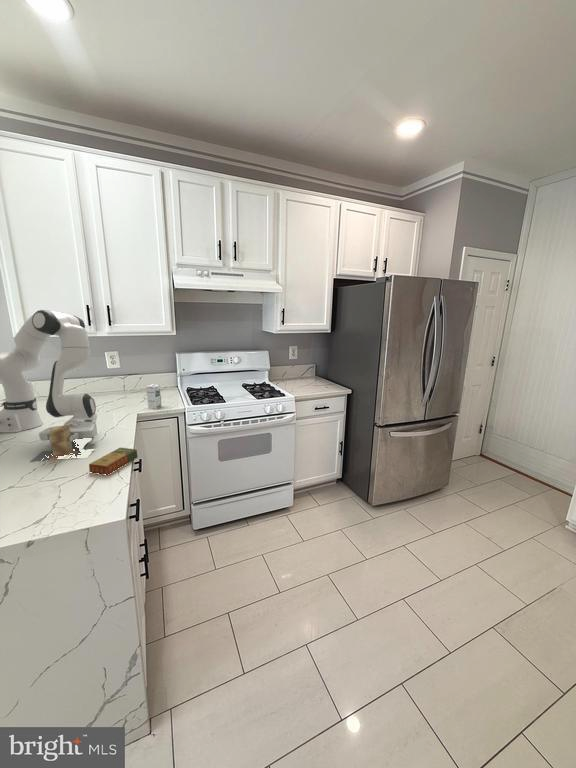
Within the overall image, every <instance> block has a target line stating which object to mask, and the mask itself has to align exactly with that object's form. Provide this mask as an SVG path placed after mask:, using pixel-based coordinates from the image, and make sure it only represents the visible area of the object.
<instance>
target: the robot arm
mask: <svg viewBox="0 0 576 768" xmlns="http://www.w3.org/2000/svg"><path fill="white" fill-rule="evenodd" d="M51 336H56V337H57V336H58V337H59V339H60V345H61V353H60V357H59V358H58V359H57V360H55V362H54V363H53V365H52V370H51V376H50V384H49V390H48V391H49V392H48V397H47V400H46V403H45V410H46V413H48V414H49V415H50V416H52V417H54V418H62V417H66V416H67V417H69V416H72V417H71V418H69V419H68V420H67V421H65V422H64V423H63V425H62V426H69V427H70V434H71V436H68V437H67V441H72V440H75V439H83V438H95V436H96V435H97V434H98V433H97V431H98V428H97V419H98V416H97V413H96V410H97V407H96V401H95V399H94V398H93V397H92V396H91V395H89V394H88V393H76V394H75V393H74V394H63V391H64V384H65V378H66V376H67V375H68V374H69V373H71V372H73V371H75V370H79V369H81V368H82V367H84V366H86V364H88V363H89V361H90V359H91V348H90V347H91V346H90V340H89V335H88V332H87V330H86V324H85V322H84V320H83V319H81V318H80V317H78V316H76V315H72V314H70V313H69V314H68V313H65V312H60V311H55V310H54V311H52V310H48V309H39V310H37V311H36V312H35V313H33V314H32V315H31V316H30V317H28V318H27V319H26V321H25V322H24V323H23V325H22V326H21V327H20V329H19V330H18V331H17V333H16V335H15V336H14V338H13V341H14V343H15V347H14V348H13V349H11V350H10V351H2V352H0V383H1V385H2V387H3V391H4V396H5V400H4V401H3V402H2V403H1V404H0V407H3V408H2V409H1V410H0V433H12V434H13V433H19V432H22V431H27V430H30V429H31V430H32V429H36V428H38V427H41V426H42V425H43V424H44V422H43V421H42V419H41V417H40V414H39V411H38V403H37V398H36V397H35V392H34V391H35V390H34V386H33V383H32V381H29V380H27V379H26V377H24V376H25V375H24V374H23V373H24V372H28V371H31V370H33V369H35V368H37V367H38V366H40V364H41V361H42V360H41V357H40V352H41V350H42V349H43V347H44V345H45V344H46V342H47V341H49V340H48V339H49V338H50V337H51ZM54 427H55V426H49V427H47V428H45V429H43V430H41V431H40V432H39V433H38V436H39V440H40V441H42V442H43V441H49V443H51V438H50V430H51V429H52V428H54Z"/></svg>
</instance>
